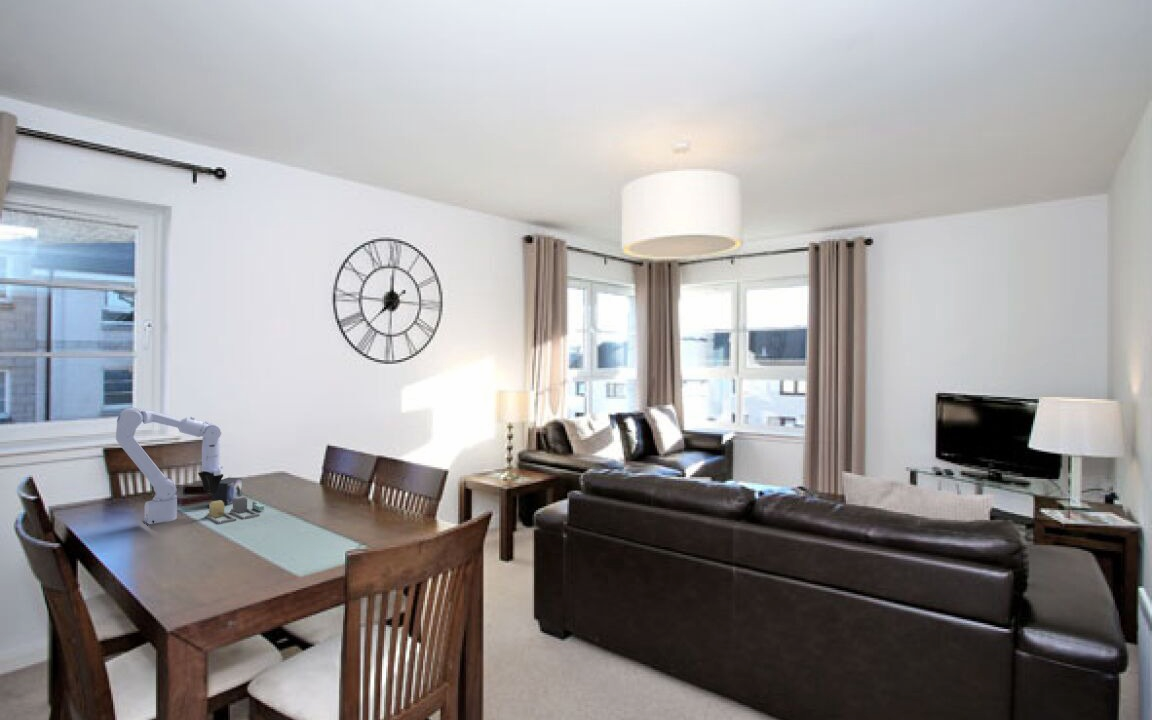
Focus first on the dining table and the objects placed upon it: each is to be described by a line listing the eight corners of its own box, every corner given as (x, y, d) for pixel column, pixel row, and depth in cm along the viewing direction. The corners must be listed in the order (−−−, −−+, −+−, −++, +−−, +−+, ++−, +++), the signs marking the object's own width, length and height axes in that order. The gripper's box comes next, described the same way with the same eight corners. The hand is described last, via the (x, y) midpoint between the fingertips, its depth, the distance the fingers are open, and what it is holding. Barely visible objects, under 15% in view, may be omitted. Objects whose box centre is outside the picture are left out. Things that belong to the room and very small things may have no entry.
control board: (209, 530, 205) (209, 523, 205) (194, 521, 216) (194, 515, 216) (274, 517, 222) (275, 511, 222) (257, 509, 232) (257, 503, 232)
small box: (227, 509, 232) (227, 483, 232) (211, 508, 232) (211, 482, 232) (242, 502, 243) (243, 477, 243) (227, 502, 243) (227, 477, 243)
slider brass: (212, 518, 215) (212, 503, 215) (209, 516, 217) (209, 501, 217) (224, 515, 218) (224, 501, 218) (221, 514, 220) (221, 499, 220)
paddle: (258, 512, 223) (258, 505, 223) (251, 509, 228) (251, 502, 228) (264, 511, 225) (264, 504, 225) (257, 508, 229) (257, 501, 229)
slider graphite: (235, 513, 221) (235, 499, 221) (232, 512, 223) (232, 497, 223) (247, 511, 224) (247, 497, 224) (244, 510, 226) (244, 495, 226)
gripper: (229, 457, 220) (229, 493, 220) (215, 452, 229) (215, 486, 230) (208, 459, 215) (208, 496, 215) (195, 454, 224) (195, 489, 224)
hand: (210, 491), depth 222 cm, fingers open, 6 cm apart
